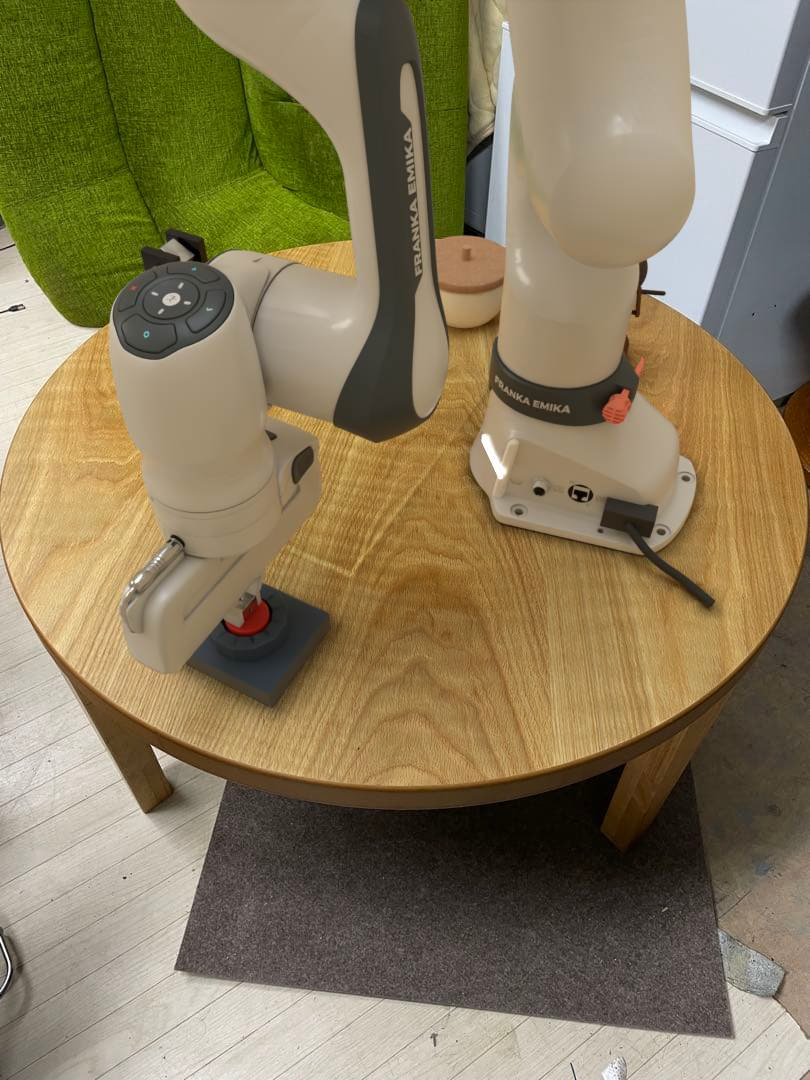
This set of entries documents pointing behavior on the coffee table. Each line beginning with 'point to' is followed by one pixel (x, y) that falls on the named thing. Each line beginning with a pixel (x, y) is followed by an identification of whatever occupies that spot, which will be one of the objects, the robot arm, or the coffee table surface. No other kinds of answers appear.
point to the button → (252, 622)
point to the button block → (264, 648)
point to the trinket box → (470, 279)
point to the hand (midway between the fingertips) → (243, 612)
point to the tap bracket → (159, 257)
